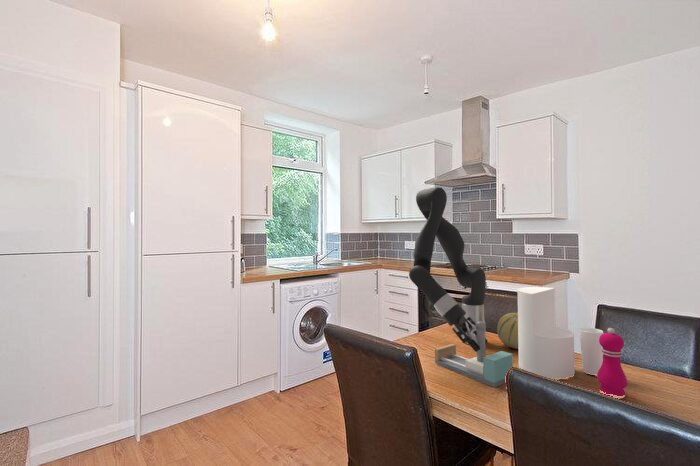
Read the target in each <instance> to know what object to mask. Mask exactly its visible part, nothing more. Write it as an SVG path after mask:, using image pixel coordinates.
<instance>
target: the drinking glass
mask: <svg viewBox="0 0 700 466" xmlns="http://www.w3.org/2000/svg"><path fill="white" fill-rule="evenodd" d="M603 333H604V331H603V330H602V329H599V328H595V327H594V328H593V327H581V328H580V329H579V343H580V345H579V346H580V353H581V361H582V372H583V371H584V372H586V373H590V374H598V371H599V369H600V367H601V365H602V362H603V354H602V353H601V351H602V350H601V348H603V347H602V346H601V345H600V343H599V337H600V336H601V335H602V334H603ZM584 372H583V373H584Z"/></svg>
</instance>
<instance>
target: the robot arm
mask: <svg viewBox="0 0 700 466" xmlns="http://www.w3.org/2000/svg"><path fill="white" fill-rule="evenodd" d="M447 199H448V195H447V193H446V191H445V189H443V188H442V187H439V186H437V187H435V186H434V187H430V188H425V189H422V190H419V191H418V192H417V193H416V196H415V200H416V201H415V202H416V204H417V208H418V210H419V211H420V213H421V214H422V215H423V217H424V219H426V222H425V224H424V225H423V227H422V228H421V229H420V232H419V233H418V235H417V237H416V241H415V246H414V251H413V259H414V261H413V266H412V267H411V268H410V269H409V272H408V276H409V279H410V281H411V282H412V283H413V284H414V286H416V287H417V288H418V289H419V290H420V291H421V292H422V293H423V294H424V296H425V298H426V299H427V300H428V302H429V303H430V304H431V305H432V306H433V307H434V309H435V310H436V312H438V314H439V315H440V316H441V317H442V319H444V321H445V322H446V323H447V324H448V326H450V327H452V326H453V328H451V329H452V331H453V333H454V334H456V336H457V337H458V338H459V340H460V341H461V342H462V343H463V344H466V345H469V346H470V347H471V348H472V349H473V350H474V352H476V353H477V351H478V350H480V349H481V347H480V346H479V345H478V344H477V338H476V327H475V325H476V323H477V322H478V321H482V322H484V323H485V324H486V320H485V298H486V288H487V287H486V283H487V282H486V281H487V278H486V272H485V271H484V270H483V269H482V268H481V267H470V266H468V265H467V264H466V262H465V259H464V252H465V247H466V246H465V245H466V244H465V241H464V239H463V237H462V234H461V232H460V231H459V229H458V228H457V227H456V226H455V225H454V224H453V223H451V222H450V221H448V220H447V219H446V218H444V217H443V216H444V212H445V209H446V205H447ZM436 238H437V240H438V243H439V244H440V246H441V247H442V250H443V251H444V253H445V255H446V257H447V259H448V262H449V263H450V265H451V267H452V270H453V273H454V276H455V277H456V280H457V282H458V284H459V285H460V286H461V287H463V288H468V289H470V293H469V294H466V295H463V296H462V298H461V305H460V304H459V303H458V302H457V301H456V300H455V298H453V296H451V295H450V294H449V293H448V292H447V291H446V290H445V289H444V287H442V285H440V284H439V283H438V282H437V280H436V279H435V278H434V277H433V276H432V274H431V267H432V263H431V262H432V258H433V253H434V248H435V247H434V246H435V241H436ZM486 334H487V333H486V329H485V345H486V344H488V341H489V340H488V339H487V336H486Z"/></svg>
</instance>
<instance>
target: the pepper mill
mask: <svg viewBox="0 0 700 466" xmlns="http://www.w3.org/2000/svg"><path fill="white" fill-rule="evenodd" d="M615 332H616V330H615V329H614V328H612V327H608V328H607V332H603V334H602V335H601V336H600V337H599V343H600V345H601V346H602V347H603V348H601V350H602V351H601V353H602V354H603V359H602V365H601V367H600V369H599V371H598V374H597V376H596V380H597V381H598V382H597V383H598V384H600V385H599V386H598V390H599V389H600V390H601V391H603V392H604V393H605V392H606V394H613V395H617V396H623V395H625V396H626V391H625V389H626V387H627V386H628V379H627V377H626V374H625V372H624V369H623V368H622V365H621V357H623V351H622V349H623V348H624V347H625V342H624V339H623V337H621V335H619V334H617V333H615ZM602 394H603V393H600V395H602ZM606 394H604V395H606ZM607 396H610V395H607ZM611 397H613V396H611ZM616 400H619V399H618V398H617V399H616Z"/></svg>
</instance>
